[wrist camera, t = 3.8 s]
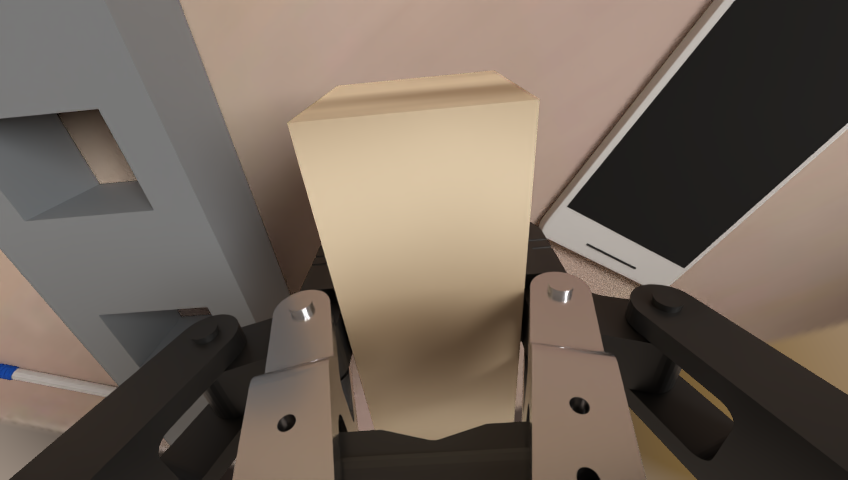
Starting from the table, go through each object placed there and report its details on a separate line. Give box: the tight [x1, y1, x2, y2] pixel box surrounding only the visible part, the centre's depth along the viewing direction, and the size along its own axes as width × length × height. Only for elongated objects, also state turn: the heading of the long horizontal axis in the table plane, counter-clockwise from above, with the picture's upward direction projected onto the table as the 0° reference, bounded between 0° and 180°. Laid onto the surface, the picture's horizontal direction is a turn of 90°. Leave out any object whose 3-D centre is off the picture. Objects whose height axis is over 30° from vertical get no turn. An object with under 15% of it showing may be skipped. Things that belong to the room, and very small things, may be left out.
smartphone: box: [539, 0, 848, 286], centre depth 12 cm, size 7×15×1 cm, turn 152°
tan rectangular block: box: [287, 71, 540, 440], centre depth 11 cm, size 10×4×7 cm, turn 5°
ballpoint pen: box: [0, 364, 118, 397], centre depth 19 cm, size 10×1×1 cm, turn 71°
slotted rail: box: [0, 0, 290, 446], centre depth 13 cm, size 24×7×3 cm, turn 5°
